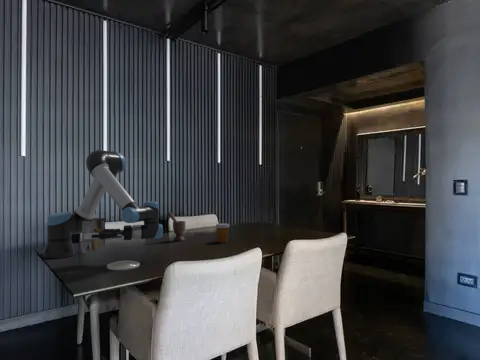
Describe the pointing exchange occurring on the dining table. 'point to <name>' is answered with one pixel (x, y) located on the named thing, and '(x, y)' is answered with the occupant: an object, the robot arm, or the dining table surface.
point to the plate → (123, 265)
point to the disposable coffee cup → (222, 232)
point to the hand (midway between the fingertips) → (84, 234)
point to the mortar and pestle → (178, 228)
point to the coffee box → (93, 227)
